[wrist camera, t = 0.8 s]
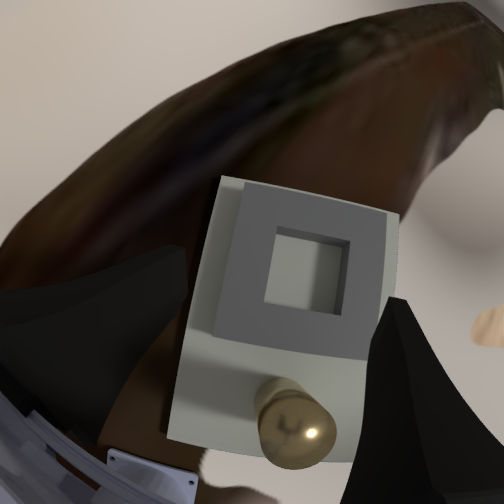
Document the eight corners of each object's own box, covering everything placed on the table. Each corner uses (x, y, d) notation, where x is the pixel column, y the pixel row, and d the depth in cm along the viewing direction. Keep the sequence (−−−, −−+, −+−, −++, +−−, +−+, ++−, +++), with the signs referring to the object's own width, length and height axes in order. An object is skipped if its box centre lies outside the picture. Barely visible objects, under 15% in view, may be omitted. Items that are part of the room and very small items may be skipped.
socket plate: (356, 458, 20) (368, 471, 18) (168, 434, 21) (160, 446, 18) (395, 217, 26) (409, 206, 23) (222, 180, 26) (220, 163, 23)
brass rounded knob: (300, 428, 20) (326, 471, 13) (249, 421, 20) (253, 465, 13) (310, 381, 21) (344, 406, 14) (259, 373, 21) (268, 397, 14)
